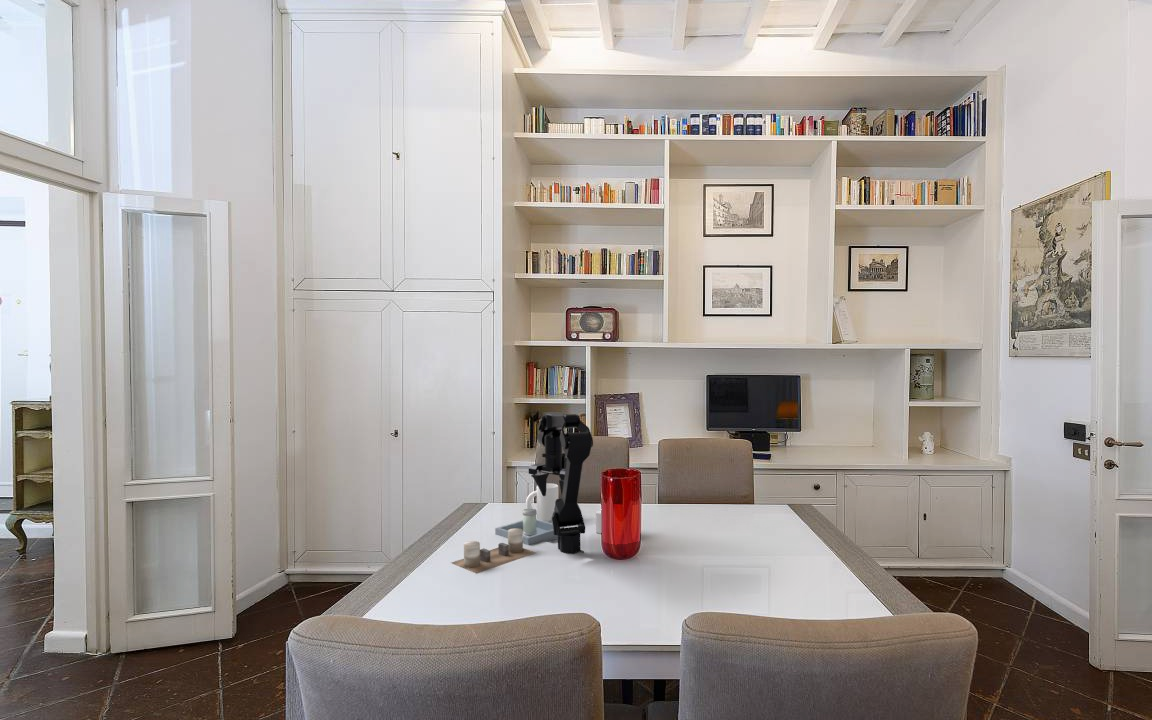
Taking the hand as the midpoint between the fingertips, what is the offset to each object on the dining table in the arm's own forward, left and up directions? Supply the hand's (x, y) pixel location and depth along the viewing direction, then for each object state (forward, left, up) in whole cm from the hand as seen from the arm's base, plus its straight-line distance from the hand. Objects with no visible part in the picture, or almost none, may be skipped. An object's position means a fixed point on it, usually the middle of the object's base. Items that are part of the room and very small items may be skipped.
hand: (554, 498), depth 188 cm
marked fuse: (+7, +5, -12) cm, 15 cm away
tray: (+7, +5, -13) cm, 15 cm away
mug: (+19, -12, -13) cm, 26 cm away
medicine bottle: (-10, -16, -13) cm, 23 cm away
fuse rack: (-2, +27, -13) cm, 30 cm away
